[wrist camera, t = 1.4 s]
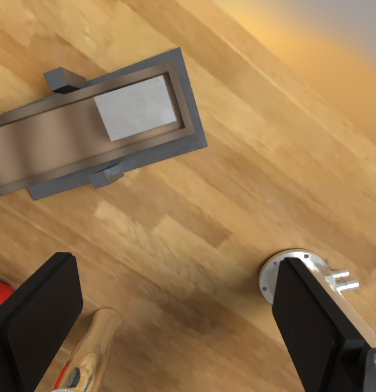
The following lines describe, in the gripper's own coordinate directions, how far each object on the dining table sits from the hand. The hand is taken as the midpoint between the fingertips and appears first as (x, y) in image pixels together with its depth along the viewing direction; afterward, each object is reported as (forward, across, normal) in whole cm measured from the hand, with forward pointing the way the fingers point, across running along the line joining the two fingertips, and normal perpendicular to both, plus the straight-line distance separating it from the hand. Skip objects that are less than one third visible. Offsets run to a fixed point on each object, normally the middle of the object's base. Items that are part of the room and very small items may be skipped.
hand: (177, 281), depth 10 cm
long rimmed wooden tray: (+23, +14, -6) cm, 27 cm away
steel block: (+22, +6, -8) cm, 25 cm away
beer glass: (+27, +16, +32) cm, 45 cm away
